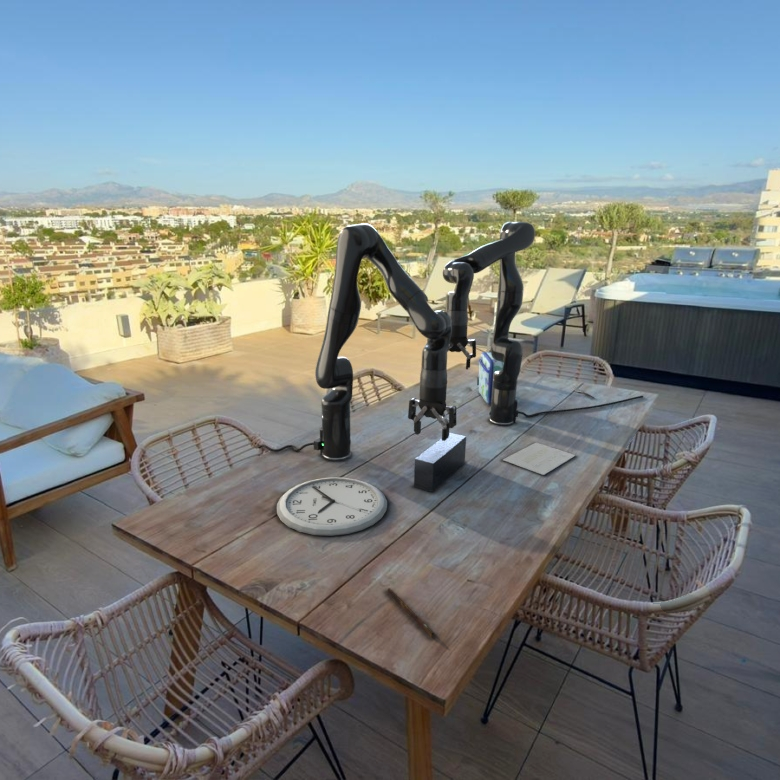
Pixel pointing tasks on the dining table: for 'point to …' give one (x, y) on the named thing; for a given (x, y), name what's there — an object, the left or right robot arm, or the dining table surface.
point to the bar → (439, 462)
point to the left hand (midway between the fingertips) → (431, 436)
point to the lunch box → (487, 375)
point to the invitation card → (539, 458)
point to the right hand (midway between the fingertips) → (454, 368)
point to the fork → (581, 391)
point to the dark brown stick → (411, 612)
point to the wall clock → (331, 506)
